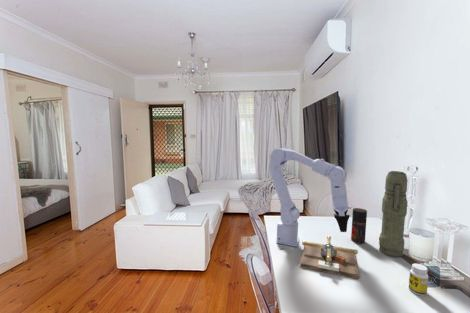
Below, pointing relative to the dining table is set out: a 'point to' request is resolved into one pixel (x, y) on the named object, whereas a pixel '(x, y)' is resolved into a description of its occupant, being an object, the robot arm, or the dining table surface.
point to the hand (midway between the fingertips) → (343, 228)
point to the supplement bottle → (418, 279)
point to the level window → (328, 266)
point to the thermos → (393, 214)
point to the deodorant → (358, 225)
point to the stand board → (314, 255)
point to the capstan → (331, 250)
